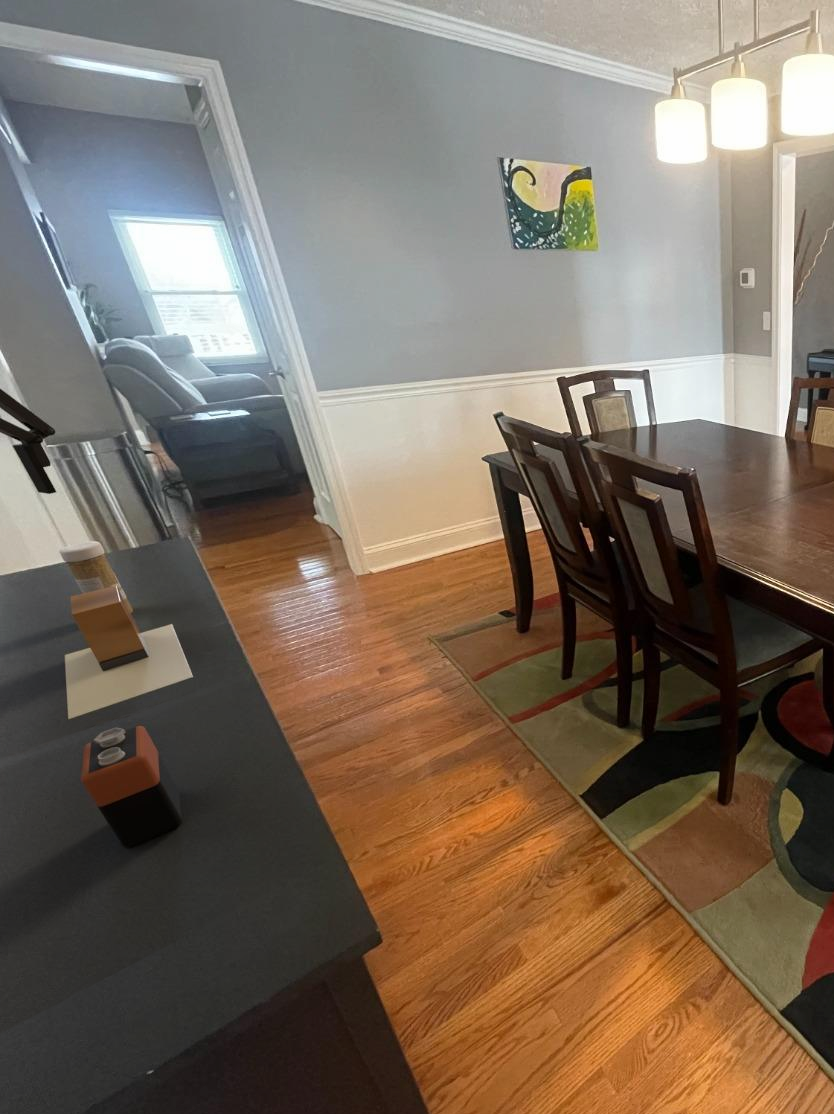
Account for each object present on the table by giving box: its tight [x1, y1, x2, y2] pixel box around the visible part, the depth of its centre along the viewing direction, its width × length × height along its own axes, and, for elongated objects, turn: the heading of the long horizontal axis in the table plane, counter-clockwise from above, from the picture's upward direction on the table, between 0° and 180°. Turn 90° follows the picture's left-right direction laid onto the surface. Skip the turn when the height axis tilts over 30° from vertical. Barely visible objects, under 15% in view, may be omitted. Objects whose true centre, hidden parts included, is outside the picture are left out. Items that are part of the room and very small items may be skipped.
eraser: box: [69, 586, 149, 671], centre depth 86 cm, size 9×5×9 cm, turn 47°
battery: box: [80, 725, 182, 849], centre depth 59 cm, size 4×7×10 cm, turn 44°
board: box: [64, 623, 194, 720], centre depth 85 cm, size 22×12×1 cm, turn 47°
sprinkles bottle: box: [59, 540, 134, 614], centre depth 97 cm, size 5×5×14 cm
